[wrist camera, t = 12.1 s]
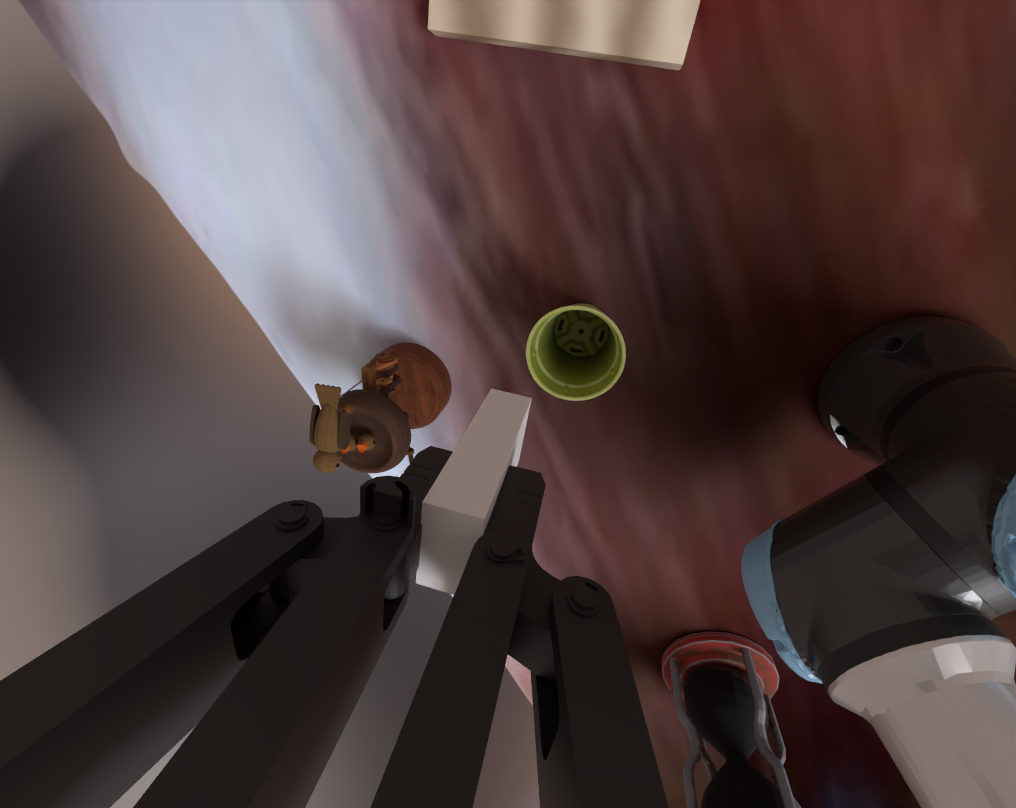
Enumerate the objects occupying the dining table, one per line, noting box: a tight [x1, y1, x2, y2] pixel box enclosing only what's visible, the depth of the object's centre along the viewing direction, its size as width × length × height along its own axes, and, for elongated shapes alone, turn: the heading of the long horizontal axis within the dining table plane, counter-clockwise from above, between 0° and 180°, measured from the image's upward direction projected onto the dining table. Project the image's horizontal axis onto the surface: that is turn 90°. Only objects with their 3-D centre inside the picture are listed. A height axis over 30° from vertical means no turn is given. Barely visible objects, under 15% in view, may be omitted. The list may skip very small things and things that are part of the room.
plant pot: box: [526, 303, 626, 401], centre depth 45 cm, size 9×9×9 cm
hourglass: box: [661, 631, 801, 808], centre depth 56 cm, size 16×16×25 cm
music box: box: [310, 343, 451, 473], centre depth 48 cm, size 15×11×20 cm
